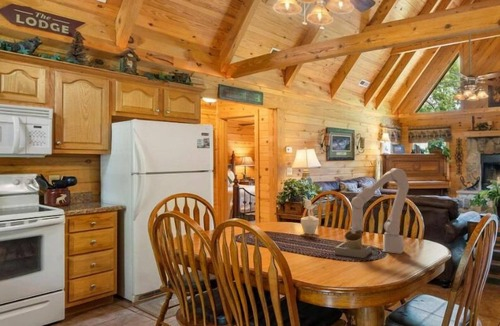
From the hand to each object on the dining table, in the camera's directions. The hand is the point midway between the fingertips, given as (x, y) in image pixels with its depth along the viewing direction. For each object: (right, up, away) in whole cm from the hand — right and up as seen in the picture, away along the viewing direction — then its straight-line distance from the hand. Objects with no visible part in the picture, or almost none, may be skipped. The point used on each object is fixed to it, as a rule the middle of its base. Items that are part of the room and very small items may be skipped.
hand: (357, 244), depth 203 cm
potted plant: (-18, -3, +44) cm, 48 cm away
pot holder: (-4, -3, -6) cm, 7 cm away
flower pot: (-2, -2, -2) cm, 3 cm away
